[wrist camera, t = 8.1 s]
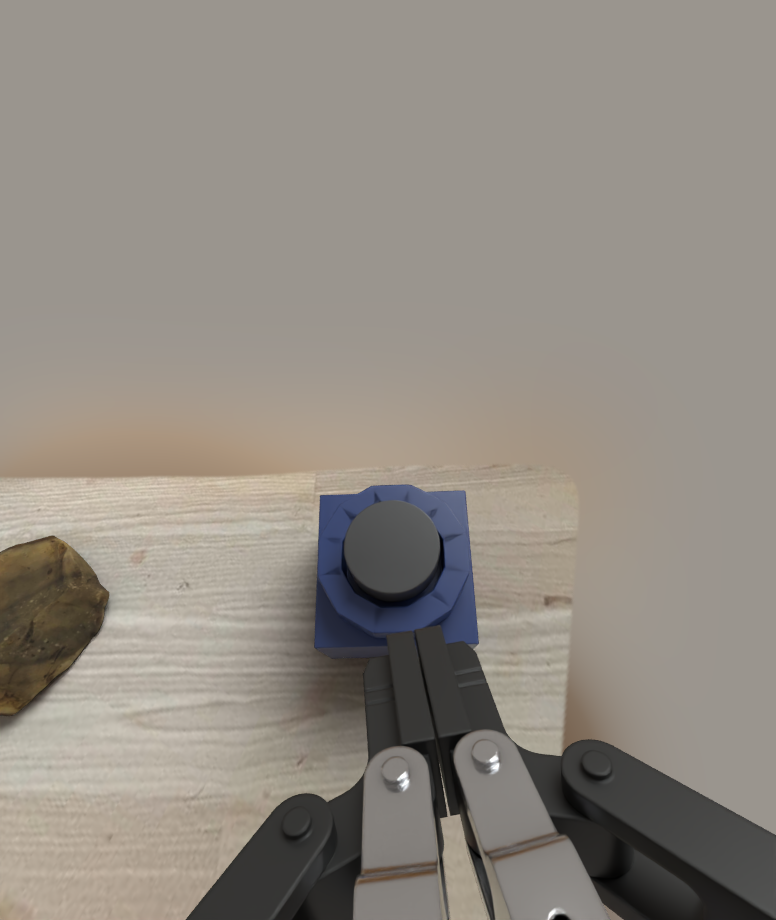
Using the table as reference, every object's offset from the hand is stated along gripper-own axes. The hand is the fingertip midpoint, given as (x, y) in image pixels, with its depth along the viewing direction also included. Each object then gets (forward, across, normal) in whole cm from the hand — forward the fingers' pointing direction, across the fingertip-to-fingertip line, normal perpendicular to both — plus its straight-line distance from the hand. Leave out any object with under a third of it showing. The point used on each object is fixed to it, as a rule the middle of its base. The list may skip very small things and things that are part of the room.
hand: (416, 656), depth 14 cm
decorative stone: (+18, +23, +7) cm, 30 cm away
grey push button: (+11, 0, +3) cm, 12 cm away
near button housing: (+16, 0, +9) cm, 19 cm away
